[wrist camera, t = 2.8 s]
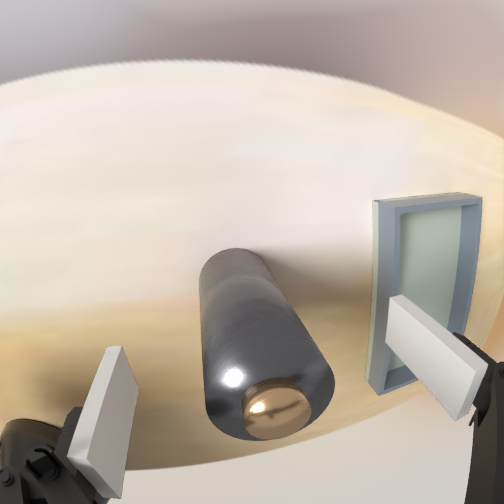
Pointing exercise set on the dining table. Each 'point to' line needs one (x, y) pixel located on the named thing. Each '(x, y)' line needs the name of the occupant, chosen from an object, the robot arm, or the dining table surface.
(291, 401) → the cell
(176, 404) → the dining table surface
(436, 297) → the trough
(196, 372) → the dining table surface
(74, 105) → the dining table surface
